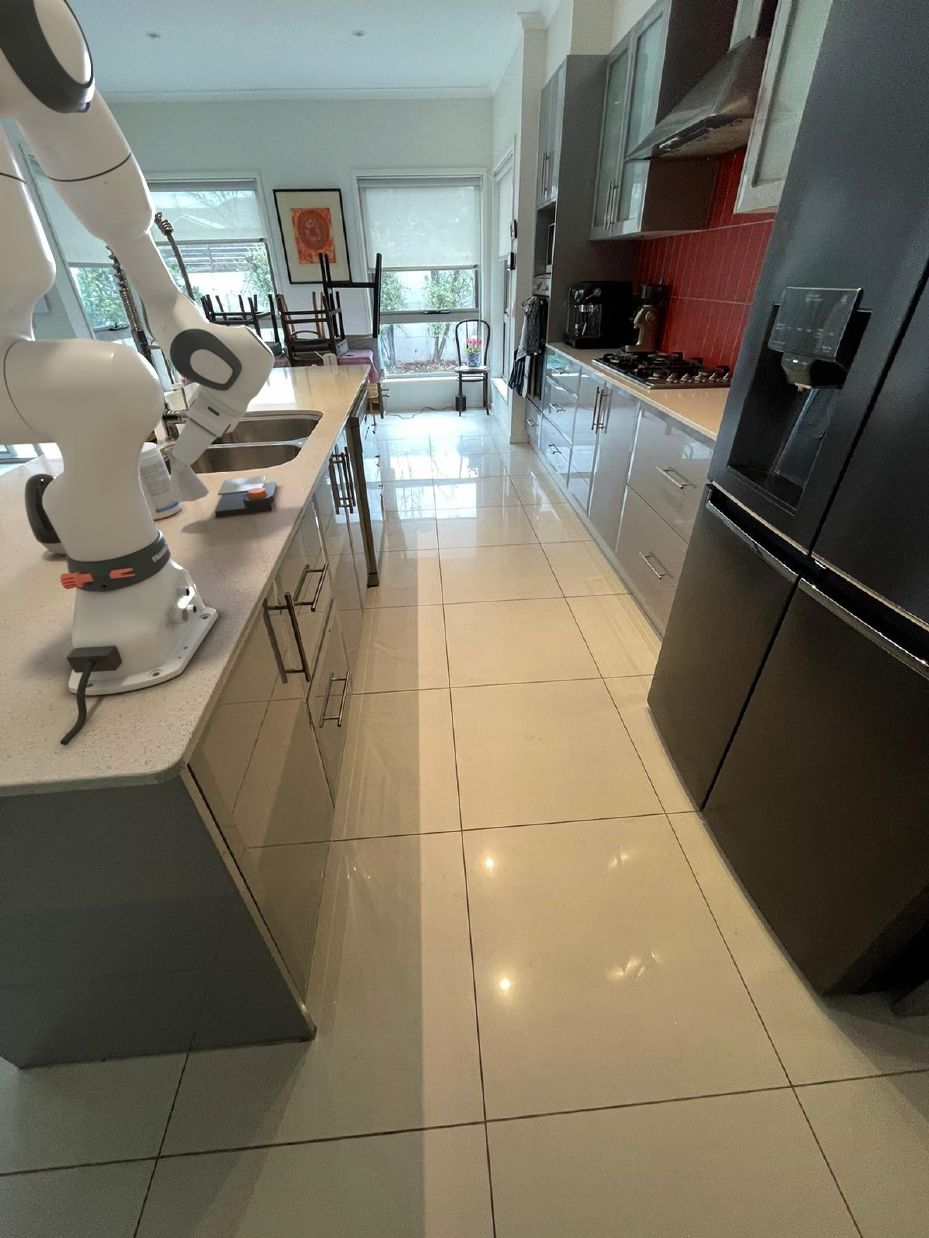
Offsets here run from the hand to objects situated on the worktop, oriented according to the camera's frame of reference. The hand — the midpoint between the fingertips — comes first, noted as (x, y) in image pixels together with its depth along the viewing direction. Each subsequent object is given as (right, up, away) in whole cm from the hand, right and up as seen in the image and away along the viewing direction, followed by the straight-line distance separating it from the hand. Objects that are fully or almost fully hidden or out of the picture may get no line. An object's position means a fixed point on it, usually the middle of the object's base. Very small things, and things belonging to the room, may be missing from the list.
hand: (179, 465), depth 103 cm
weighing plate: (+5, +1, +19) cm, 20 cm away
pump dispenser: (-21, -17, +1) cm, 27 cm away
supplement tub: (-13, -7, +15) cm, 21 cm away
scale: (+6, -3, +19) cm, 20 cm away
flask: (0, -6, +4) cm, 7 cm away
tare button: (+10, -3, +14) cm, 17 cm away
